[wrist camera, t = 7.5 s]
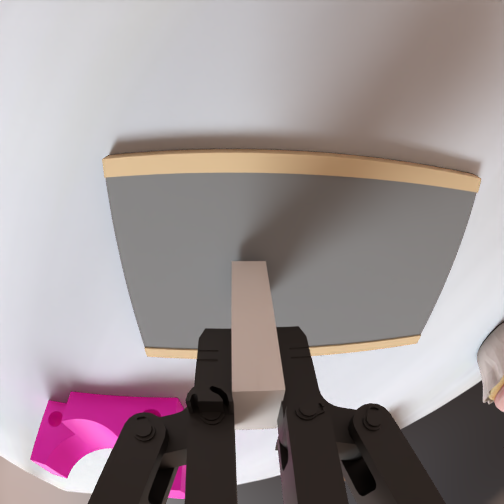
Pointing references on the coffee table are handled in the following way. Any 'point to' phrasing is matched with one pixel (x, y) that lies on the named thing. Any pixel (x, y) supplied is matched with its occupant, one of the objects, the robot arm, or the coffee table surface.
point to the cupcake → (493, 367)
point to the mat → (286, 242)
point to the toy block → (94, 429)
